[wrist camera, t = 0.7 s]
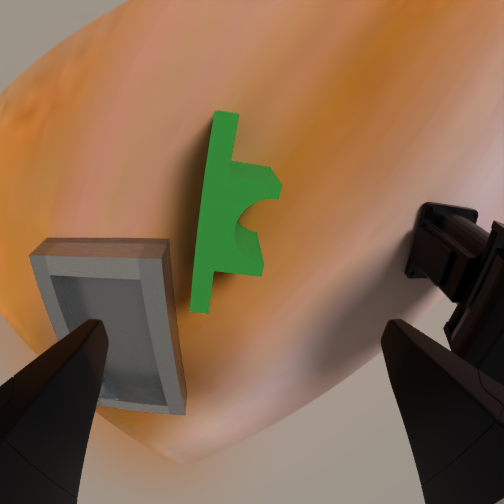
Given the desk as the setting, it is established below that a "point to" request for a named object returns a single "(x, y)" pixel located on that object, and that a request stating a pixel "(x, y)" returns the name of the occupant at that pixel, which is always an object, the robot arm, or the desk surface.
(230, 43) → the desk surface
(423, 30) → the desk surface
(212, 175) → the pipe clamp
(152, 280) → the gray rectangular tray
